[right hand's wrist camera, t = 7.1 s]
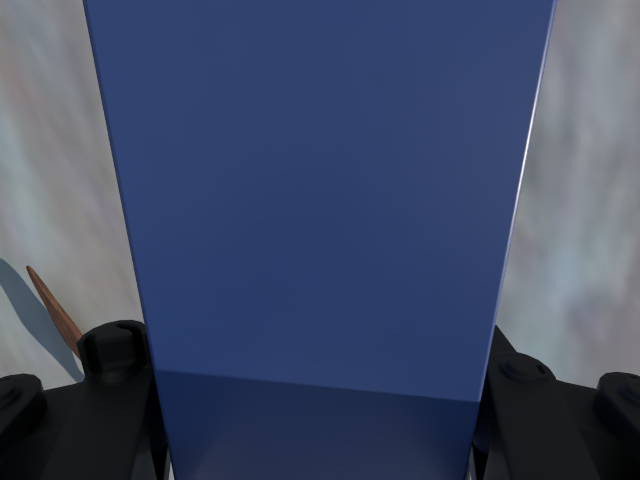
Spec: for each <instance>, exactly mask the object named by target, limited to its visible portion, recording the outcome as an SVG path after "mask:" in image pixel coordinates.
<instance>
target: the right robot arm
mask: <svg viewBox="0 0 640 480" xmlns="http://www.w3.org/2000/svg"><path fill="white" fill-rule="evenodd" d="M76 344H77V348H78V351H79V355H80V359H81V362H82V366H83V370H84V373H85V378H84V381H83V382H80V383H76V384H72V385H68V386H63V387H58V388H54V389H49V390H43V387H42V384H41V380H40V379H39V378H37V377H36V376H35V375H30V374H16V375H9V376H5V377H2V378H0V480H169V472H170V463H171V458H170V453H169V448H168V443H167V438H166V432H165V427H164V422H163V417H162V412H161V406H160V401H159V396H158V391H157V386H156V380H155V375H154V370H153V365H152V360H151V354H150V349H149V344H148V339H147V333H146V328H145V325H144V324H143V323H142V322H139V321H134V320H119V321H114V322H110V323H106V324H103V325H101V326H98V327H96V328H93V329H92V330H90V331H89V332H87V333H86V334H84V335H83V336H82V337H81V338H80V339H79V340H78V341H77V343H76ZM470 476H471V480H640V376H638V375H634V374H630V373H622V372H612V373H606V374H604V375H603V376H602V377H601V378H600V379H599V382H598V385H597V389H594V388H590V387H585V386H580V385H576V384H571V383H566V382H562V381H559V380H556V378H555V376H554V374H553V373H552V372H551V370H550V369H549V368H548V367H547V366H546V365H544V364H543V363H542V362H540V361H539V360H537V359H535V358H533V357H530V356H528V355H526V354H522V353H518V352H516V350H515V349H514V348H513V346H512V345H511V344H510V342H509V341H508V340H507V338H506V337H505V336H504V334H503V333H502V332H501V330H500V329H499V328H498V326H497V325H495V327H494V333H493V338H492V343H491V348H490V353H489V359H488V364H487V369H486V374H485V379H484V385H483V390H482V395H481V400H480V405H479V411H478V416H477V421H476V426H475V431H474V437H473V442H472V447H471V452H470V457H469V463H468V468H467V473H466V478H465V480H470Z"/></svg>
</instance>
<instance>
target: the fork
mask: <svg viewBox="0 0 640 480" xmlns="http://www.w3.org/2000/svg"><path fill="white" fill-rule="evenodd" d="M26 268H27V271H28V273H29V276H30V278H31V280H32V282H33V284H34V286H35V288H36V290H37V291H38V293H39V295H40V297H41V299H42V301H43V302H44V304H45V306H46V308H47V310H48V312H49V314H50V315H51V317H52V319H53V321H54V323H55V325H56V327H57V329H58V331H59V333H60V334H61V336H62V337H63V339H64V340H65V342H66V343H67V345H68V346H69V347H70V348H71V350H72V351H73V352H74V353H75V354H76V356H77V357H78V358H79V359H80V355H79V351H78V348H77V344H76V343H77V341H78V340H79V339H80V338H81V337H82V336H83V335H82V334H81V332H80V330H79V329H78V328H77V326H76V325H75V324H74V322H73V321H72V320H71V318H70V317H69V316H68V315H67V313H66V312H65V311H64V310H63V308H62V307H61V306H60V305H59V303H58V302H57V300H56V299H55V298H54V296H53V295H52V294H51V292H50V291H49V289H48V288H47V287H46V285H45V284H44V283H43V281H42V280H41V279H40V277H39V276H38V275H37V274H36V272H35V271H34V270H33V269H32V268H31V267H30V266H26ZM80 360H81V359H80Z"/></svg>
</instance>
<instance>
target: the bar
mask: <svg viewBox="0 0 640 480" xmlns="http://www.w3.org/2000/svg"><path fill="white" fill-rule="evenodd" d="M83 5H84V11H85V16H86V21H87V26H88V31H89V37H90V42H91V47H92V52H93V57H94V63H95V68H96V73H97V78H98V84H99V89H100V94H101V99H102V104H103V110H104V115H105V120H106V125H107V130H108V136H109V141H110V146H111V151H112V156H113V162H114V167H115V172H116V177H117V182H118V188H119V193H120V198H121V203H122V208H123V214H124V219H125V224H126V229H127V235H128V240H129V245H130V250H131V255H132V261H133V266H134V271H135V276H136V281H137V287H138V292H139V297H140V302H141V307H142V313H143V318H144V323H145V328H146V333H147V339H148V344H149V349H150V354H151V360H152V365H153V370H154V375H155V380H156V386H157V391H158V396H159V401H160V406H161V412H162V417H163V422H164V427H165V432H166V438H167V443H168V448H169V453H170V458H171V464H172V469H173V474H174V479H175V480H465V478H466V473H467V468H468V463H469V457H470V452H471V447H472V442H473V437H474V431H475V426H476V421H477V416H478V411H479V405H480V400H481V395H482V390H483V385H484V379H485V374H486V369H487V364H488V359H489V353H490V348H491V343H492V338H493V333H494V327H495V322H496V317H497V312H498V306H499V301H500V296H501V291H502V286H503V280H504V275H505V270H506V265H507V260H508V254H509V249H510V244H511V239H512V234H513V228H514V223H515V218H516V213H517V208H518V202H519V197H520V192H521V187H522V182H523V176H524V171H525V166H526V161H527V155H528V150H529V145H530V140H531V135H532V129H533V124H534V119H535V114H536V109H537V103H538V98H539V93H540V88H541V83H542V77H543V72H544V67H545V62H546V57H547V51H548V46H549V41H550V36H551V31H552V25H553V20H554V15H555V10H556V5H557V0H83Z"/></svg>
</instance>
